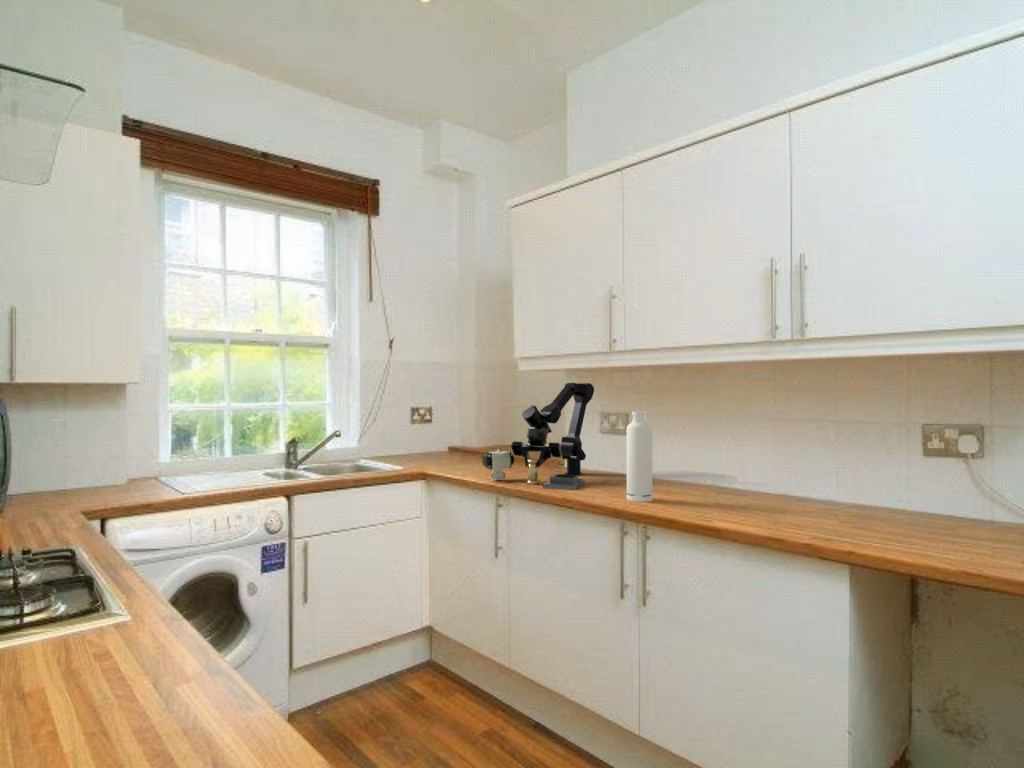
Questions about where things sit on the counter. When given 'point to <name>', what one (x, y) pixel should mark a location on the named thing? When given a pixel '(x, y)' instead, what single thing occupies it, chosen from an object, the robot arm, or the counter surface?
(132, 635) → the counter surface
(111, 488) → the counter surface
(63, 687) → the counter surface
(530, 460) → the brass coupling
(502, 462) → the pneumatic valve
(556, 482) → the plate
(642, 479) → the bottle
